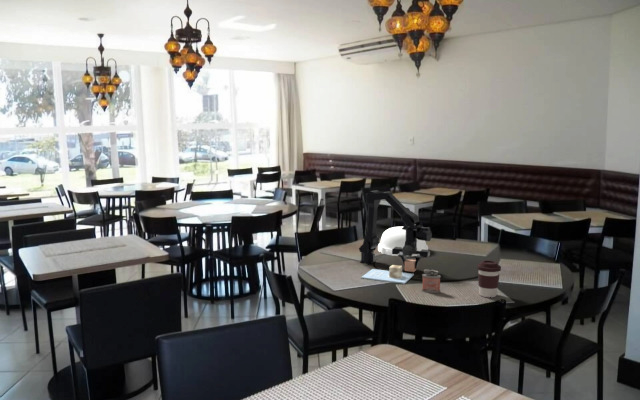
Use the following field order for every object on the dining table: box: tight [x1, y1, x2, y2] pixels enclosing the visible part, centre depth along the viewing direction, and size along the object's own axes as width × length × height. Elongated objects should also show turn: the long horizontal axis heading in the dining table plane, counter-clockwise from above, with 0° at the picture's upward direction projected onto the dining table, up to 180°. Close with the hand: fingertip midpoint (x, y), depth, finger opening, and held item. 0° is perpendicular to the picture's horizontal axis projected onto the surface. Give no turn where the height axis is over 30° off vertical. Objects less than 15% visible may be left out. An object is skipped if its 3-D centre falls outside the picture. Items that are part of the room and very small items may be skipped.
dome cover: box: [377, 225, 429, 257], centre depth 312 cm, size 32×30×14 cm
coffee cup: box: [476, 259, 502, 298], centre depth 229 cm, size 10×10×15 cm
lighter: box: [421, 269, 442, 294], centre depth 235 cm, size 8×3×10 cm, turn 71°
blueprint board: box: [360, 268, 415, 285], centre depth 259 cm, size 22×16×1 cm
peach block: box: [404, 258, 418, 273], centre depth 270 cm, size 5×5×5 cm
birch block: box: [388, 264, 403, 278], centre depth 257 cm, size 5×5×5 cm
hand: (410, 268), depth 270 cm, fingers closed on peach block, 5 cm apart
